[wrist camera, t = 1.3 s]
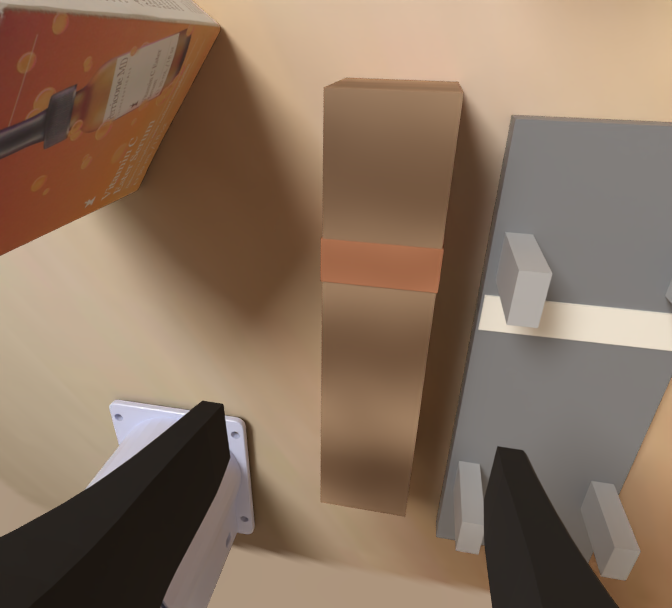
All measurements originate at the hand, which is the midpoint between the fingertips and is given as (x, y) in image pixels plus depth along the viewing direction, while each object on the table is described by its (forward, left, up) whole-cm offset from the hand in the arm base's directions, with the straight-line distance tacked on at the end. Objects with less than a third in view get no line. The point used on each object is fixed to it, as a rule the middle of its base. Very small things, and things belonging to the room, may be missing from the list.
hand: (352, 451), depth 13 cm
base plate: (-4, -8, -10) cm, 13 cm away
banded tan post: (-1, 0, -10) cm, 10 cm away
